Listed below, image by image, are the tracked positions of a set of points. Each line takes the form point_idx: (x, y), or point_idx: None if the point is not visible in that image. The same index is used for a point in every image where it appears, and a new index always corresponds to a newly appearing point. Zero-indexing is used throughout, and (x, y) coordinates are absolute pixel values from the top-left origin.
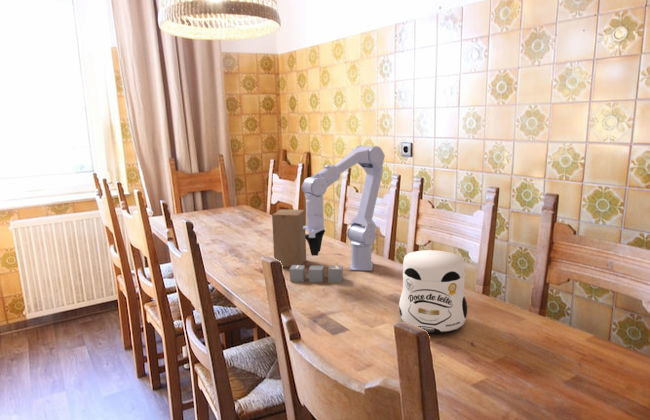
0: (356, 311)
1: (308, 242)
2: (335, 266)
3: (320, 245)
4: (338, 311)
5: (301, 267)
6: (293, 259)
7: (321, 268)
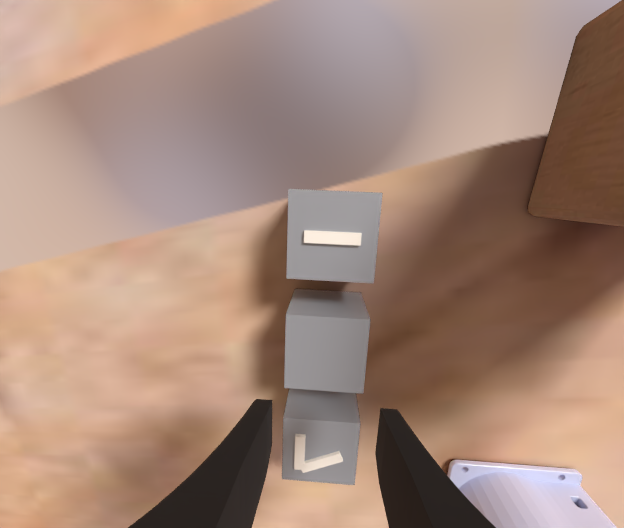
0: (28, 466)
1: (144, 520)
2: (335, 455)
3: (389, 519)
4: (12, 415)
5: (325, 265)
6: (580, 169)
7: (308, 384)
